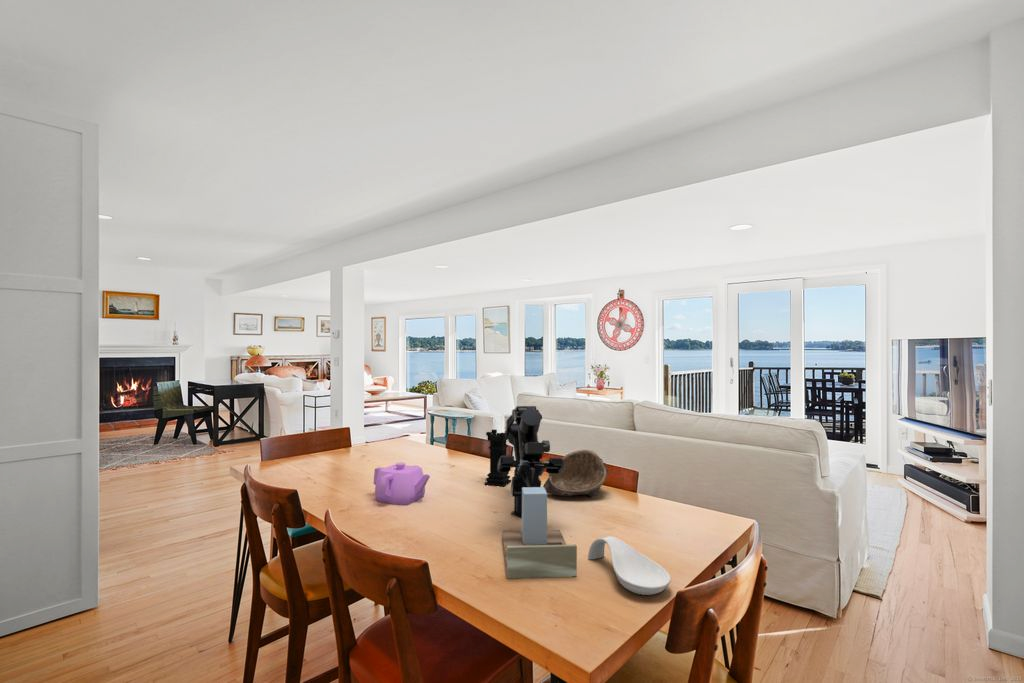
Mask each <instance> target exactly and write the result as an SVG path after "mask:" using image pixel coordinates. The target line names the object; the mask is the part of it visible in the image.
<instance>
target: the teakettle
mask: <svg viewBox="0 0 1024 683" xmlns="http://www.w3.org/2000/svg"><path fill="white" fill-rule="evenodd" d="M430 478H431V474H427V473H424V471H423V468H422V467H420V466H419V465H407V464H406V462H397V463H395V464H393V465H389V466H386V467H376V468H374V473H373V484H374V485H375V488H374V497H375V500H376V502H380V503H383V504H389V505H398V506H409V505H411V504H413V503H415V502H417V501H419V500H421V499H422V498H424V496H425V494H426V485H427V483H428V481H429V479H430Z"/></svg>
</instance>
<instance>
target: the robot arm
mask: <svg viewBox="0 0 1024 683" xmlns="http://www.w3.org/2000/svg"><path fill="white" fill-rule="evenodd" d="M542 420H543V415H542V414H541V412H540V411H539V409H537V406H536V405H524V406H523V405H516V407H515V408H514V409H512V410H511V415H510V416H509V417H508V418H507V419H506V421H505V422H506V423H505V431H506V436H508V440H507V441H508V443H509V444H511V445H512V446H513V452H514V455H506V456H501V457H500V459H499V462H498V466H497V468H498V472H499V473H508V472H510V471H511V468H514V473H513V476H512V477H511V482H510V492H511V496H512V497H514V499H513V500H514V504H513V505H514V506H513V509H514V510H512V511H511V512H510V514H511V515H514V516H516V517H520V518H522V487H542V480H541V478H540V477H542V476H543V473H544V472H545V471H546V473H548V475H549V474H559V473H560V472H561V470H562V469H563V467H564V461H563V459H562V458H563V457H559V456H558V457H555V456H554V457H553V456H550V457H549V458H548V459H547V461H541V460H542V458H543V455H545V453H549V452H550V451H551V444H550V440H548V439H547V440H541V442H539V439H538V438H539V437H538V433H539V429H540V426H541V422H542Z"/></svg>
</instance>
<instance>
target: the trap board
mask: <svg viewBox="0 0 1024 683" xmlns="http://www.w3.org/2000/svg"><path fill="white" fill-rule="evenodd" d="M501 532H502V535H501V536H502V538H501V539H502V546H503V553H504V554H503V555H504V562H505V568H506V569H505V570H506V578H507V579H534V578H537V579H538V578H541V579H542V578H573V577H572V576H578V575H577V574H578V573H577V572H578V570H577V569H578V568H577V565H578V563H577V556H578V553H577V552H578V548H577V546H578V545H577V544H576V543H575V544H567V543H566V541H565V538H564V536H563V533H562V531H561V529H547V544H536V545H524V544H523V539H522V529H520V530H519V529H517V530H512V529H511V530H509V529H508V530H502V531H501Z"/></svg>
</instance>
